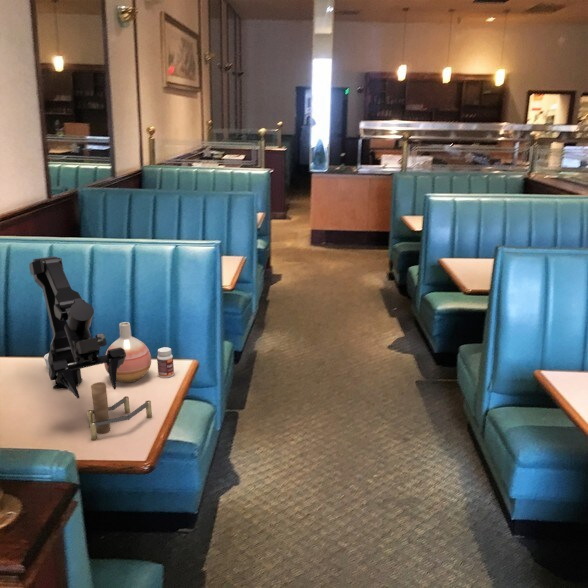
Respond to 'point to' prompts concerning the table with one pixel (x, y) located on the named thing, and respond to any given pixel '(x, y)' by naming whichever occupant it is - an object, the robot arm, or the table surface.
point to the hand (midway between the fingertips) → (97, 393)
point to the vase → (131, 356)
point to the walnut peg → (100, 406)
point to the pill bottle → (165, 362)
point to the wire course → (127, 410)
